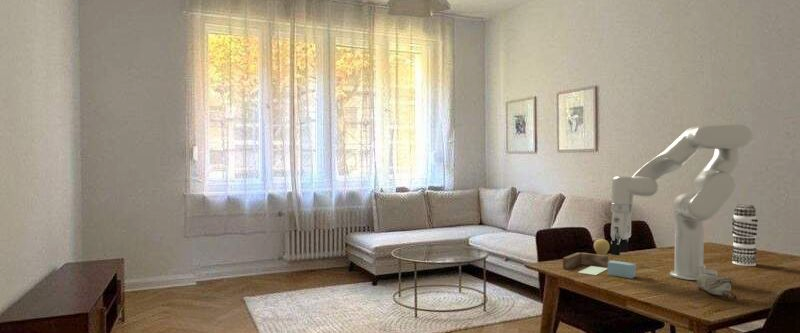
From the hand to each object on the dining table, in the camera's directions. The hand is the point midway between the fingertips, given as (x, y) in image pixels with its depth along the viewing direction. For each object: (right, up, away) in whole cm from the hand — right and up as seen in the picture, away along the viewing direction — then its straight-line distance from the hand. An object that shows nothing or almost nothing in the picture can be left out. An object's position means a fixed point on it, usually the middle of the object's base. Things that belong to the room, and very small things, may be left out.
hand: (619, 253), depth 195 cm
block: (+1, -9, 0) cm, 9 cm away
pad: (-7, -8, +8) cm, 13 cm away
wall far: (-12, -8, +16) cm, 22 cm away
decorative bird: (+20, -10, -27) cm, 35 cm away
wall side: (-4, -8, +18) cm, 20 cm away
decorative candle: (+62, -8, +21) cm, 66 cm away
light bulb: (+3, -8, +24) cm, 25 cm away
